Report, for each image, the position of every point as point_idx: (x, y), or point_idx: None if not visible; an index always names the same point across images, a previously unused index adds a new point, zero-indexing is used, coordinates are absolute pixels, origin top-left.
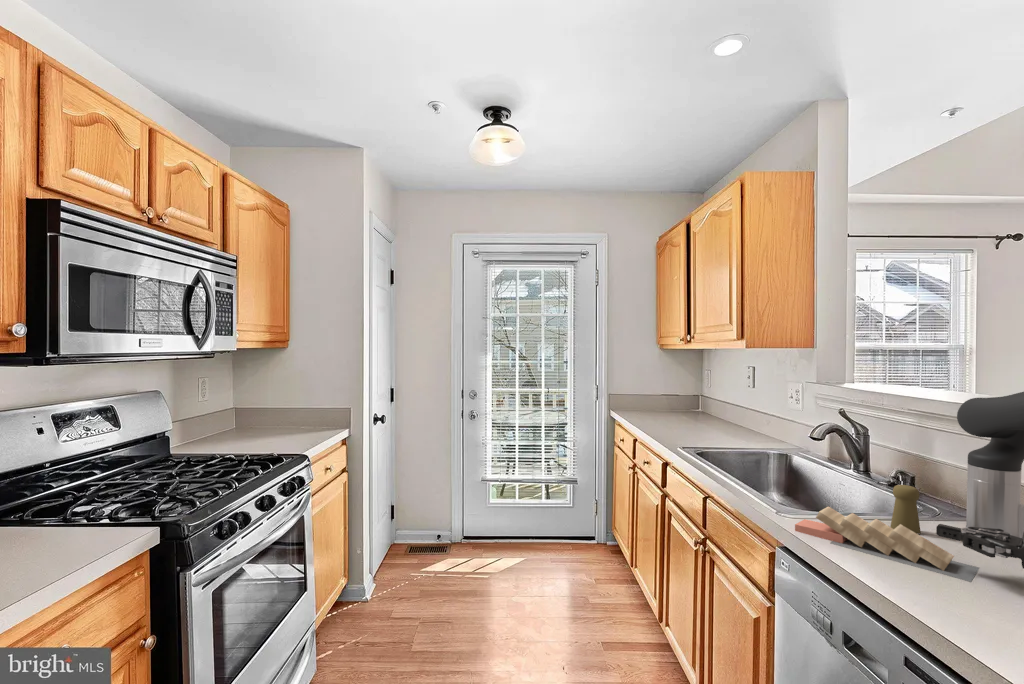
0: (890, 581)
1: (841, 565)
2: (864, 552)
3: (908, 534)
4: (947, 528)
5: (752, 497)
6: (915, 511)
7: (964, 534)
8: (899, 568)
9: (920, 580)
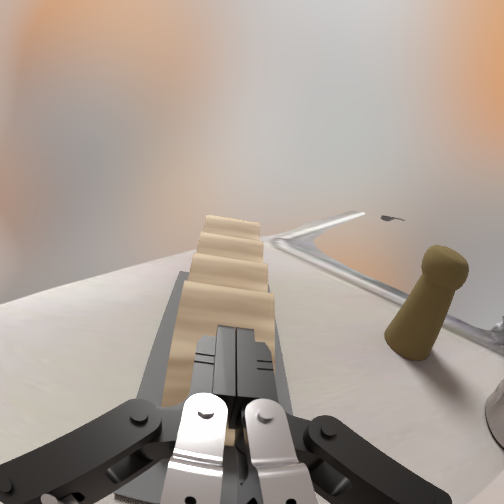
0: (29, 330)
1: (77, 282)
2: (167, 305)
3: (224, 317)
4: (213, 354)
5: (312, 227)
6: (435, 311)
7: (124, 404)
8: (118, 355)
9: (59, 381)
